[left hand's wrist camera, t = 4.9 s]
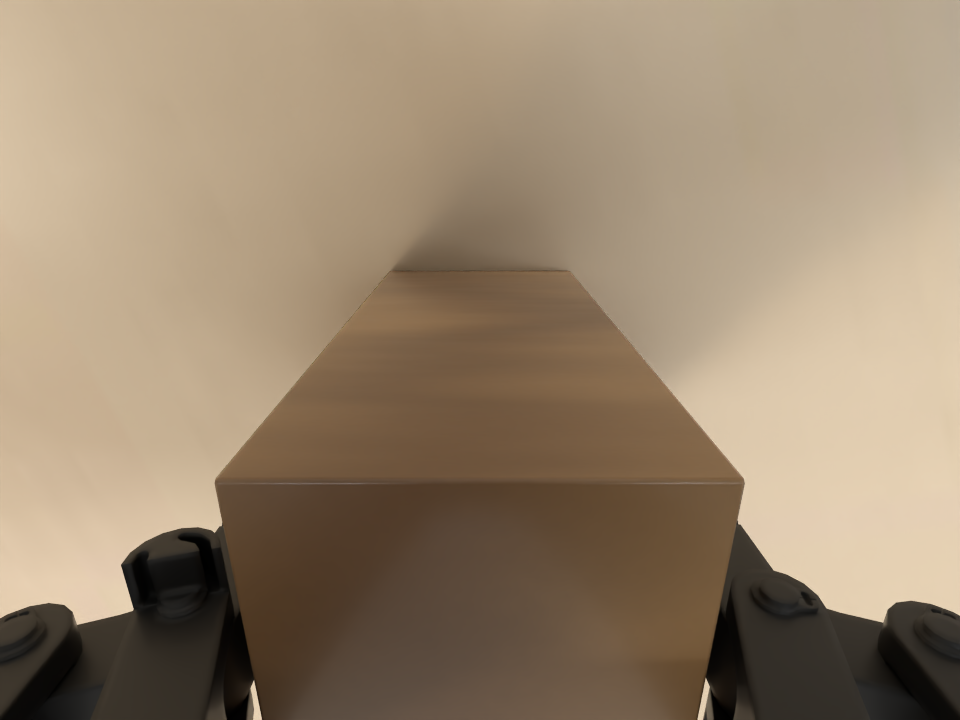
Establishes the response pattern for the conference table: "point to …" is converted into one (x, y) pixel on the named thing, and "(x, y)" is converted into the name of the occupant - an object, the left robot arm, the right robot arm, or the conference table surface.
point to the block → (479, 516)
